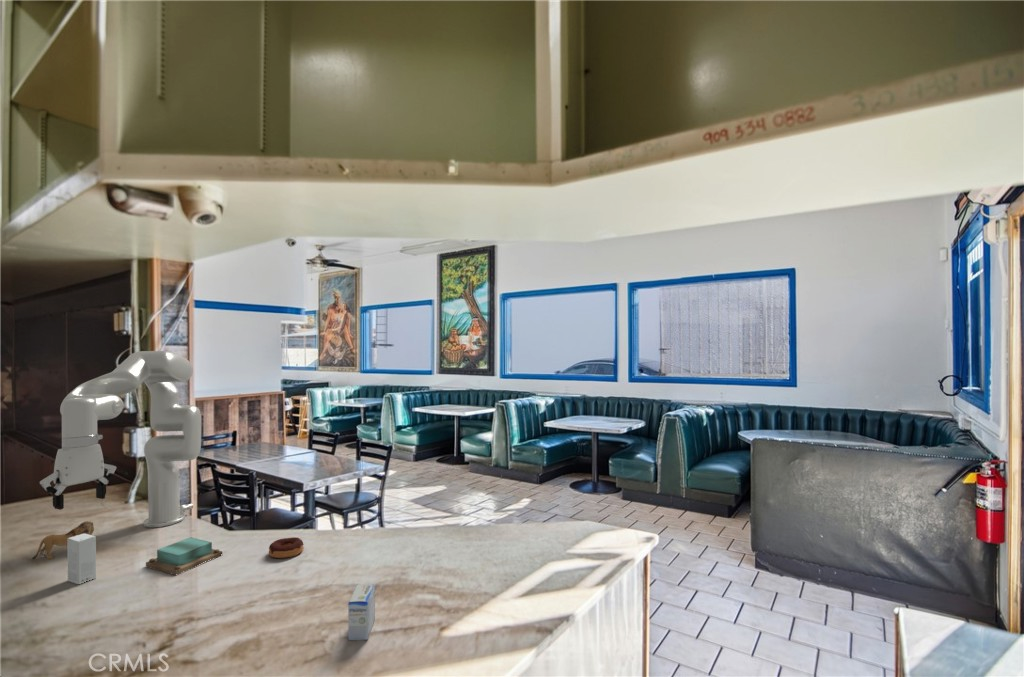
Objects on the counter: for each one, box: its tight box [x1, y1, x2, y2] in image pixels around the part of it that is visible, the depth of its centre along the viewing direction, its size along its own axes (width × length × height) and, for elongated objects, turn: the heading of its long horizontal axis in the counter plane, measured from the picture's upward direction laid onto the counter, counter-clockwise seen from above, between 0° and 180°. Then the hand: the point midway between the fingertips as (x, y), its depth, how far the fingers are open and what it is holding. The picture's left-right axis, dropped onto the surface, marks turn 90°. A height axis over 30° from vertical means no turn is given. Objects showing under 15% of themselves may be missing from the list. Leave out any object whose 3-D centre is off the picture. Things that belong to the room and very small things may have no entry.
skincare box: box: [66, 533, 97, 585], centre depth 139 cm, size 6×4×12 cm
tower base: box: [145, 536, 223, 576], centre depth 150 cm, size 14×14×4 cm
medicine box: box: [347, 583, 376, 641], centre depth 113 cm, size 8×4×9 cm, turn 5°
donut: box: [268, 536, 305, 559], centre depth 155 cm, size 10×10×4 cm
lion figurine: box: [31, 520, 95, 561], centre depth 155 cm, size 15×5×9 cm, turn 130°
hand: (80, 503), depth 139 cm, fingers open, 9 cm apart
